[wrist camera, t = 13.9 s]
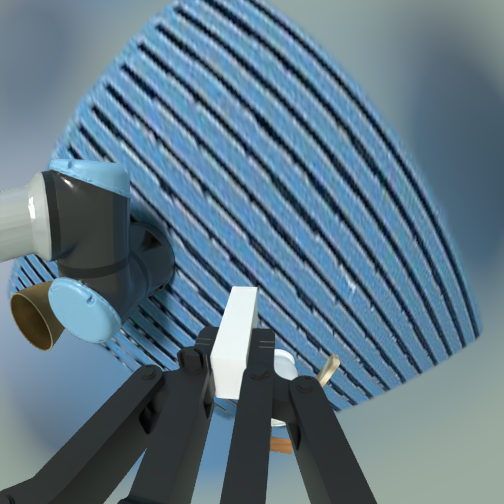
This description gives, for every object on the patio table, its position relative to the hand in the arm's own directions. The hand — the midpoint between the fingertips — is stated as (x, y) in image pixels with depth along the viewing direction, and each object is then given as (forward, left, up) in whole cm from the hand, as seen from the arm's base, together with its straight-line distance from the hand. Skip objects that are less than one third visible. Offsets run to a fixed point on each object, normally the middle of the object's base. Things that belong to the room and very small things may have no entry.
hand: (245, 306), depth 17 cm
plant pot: (-50, -20, -33) cm, 63 cm away
